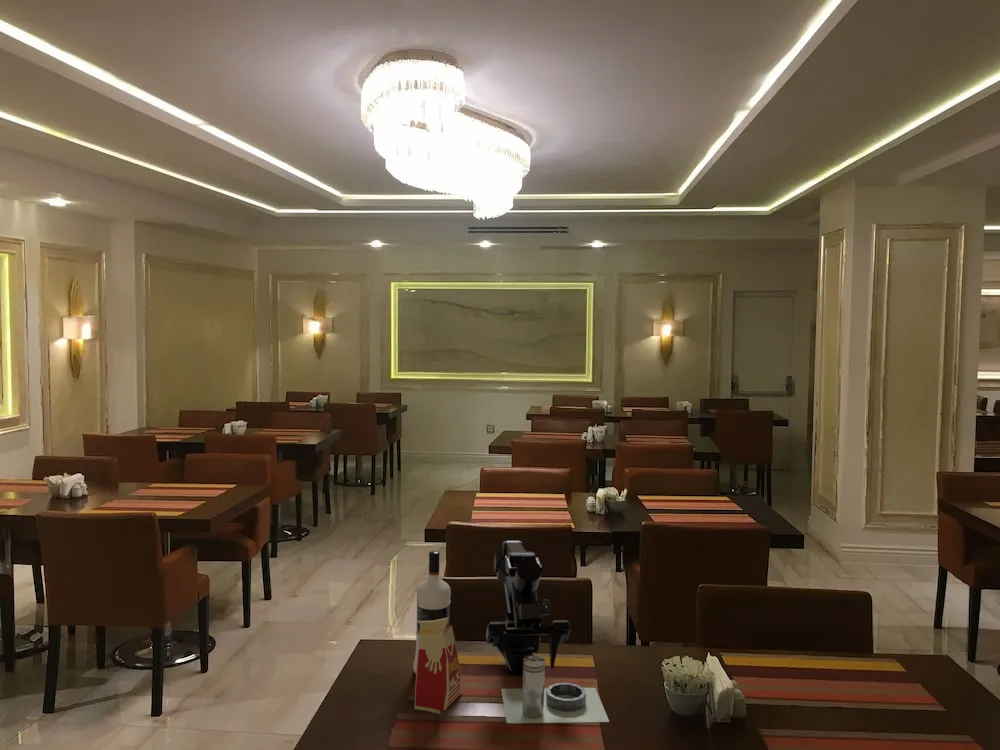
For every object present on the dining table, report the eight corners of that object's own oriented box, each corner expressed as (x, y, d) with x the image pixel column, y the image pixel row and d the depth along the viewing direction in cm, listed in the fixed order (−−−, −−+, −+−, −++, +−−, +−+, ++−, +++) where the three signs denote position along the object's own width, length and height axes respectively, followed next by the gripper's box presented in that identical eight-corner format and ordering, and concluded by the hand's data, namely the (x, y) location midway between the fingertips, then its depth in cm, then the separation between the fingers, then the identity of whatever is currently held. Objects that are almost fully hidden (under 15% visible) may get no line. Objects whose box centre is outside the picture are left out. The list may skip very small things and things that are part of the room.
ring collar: (549, 711, 176) (549, 700, 175) (544, 693, 184) (544, 683, 184) (588, 711, 176) (588, 700, 176) (581, 693, 185) (581, 682, 185)
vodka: (448, 681, 192) (450, 558, 190) (410, 679, 193) (411, 556, 191) (453, 665, 201) (455, 547, 199) (417, 663, 202) (418, 545, 200)
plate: (506, 728, 170) (506, 723, 170) (501, 693, 186) (501, 688, 186) (609, 727, 172) (609, 721, 172) (595, 692, 188) (595, 687, 188)
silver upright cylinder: (523, 719, 172) (524, 664, 171) (520, 708, 177) (522, 655, 176) (544, 718, 173) (546, 664, 172) (542, 708, 177) (543, 655, 176)
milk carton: (462, 697, 184) (463, 612, 183) (446, 716, 175) (448, 626, 174) (425, 690, 187) (427, 606, 186) (408, 708, 178) (409, 620, 177)
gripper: (488, 587, 180) (493, 655, 170) (570, 585, 182) (580, 652, 172) (484, 609, 188) (488, 675, 178) (562, 607, 190) (571, 673, 180)
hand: (531, 669), depth 177 cm, fingers open, 9 cm apart
